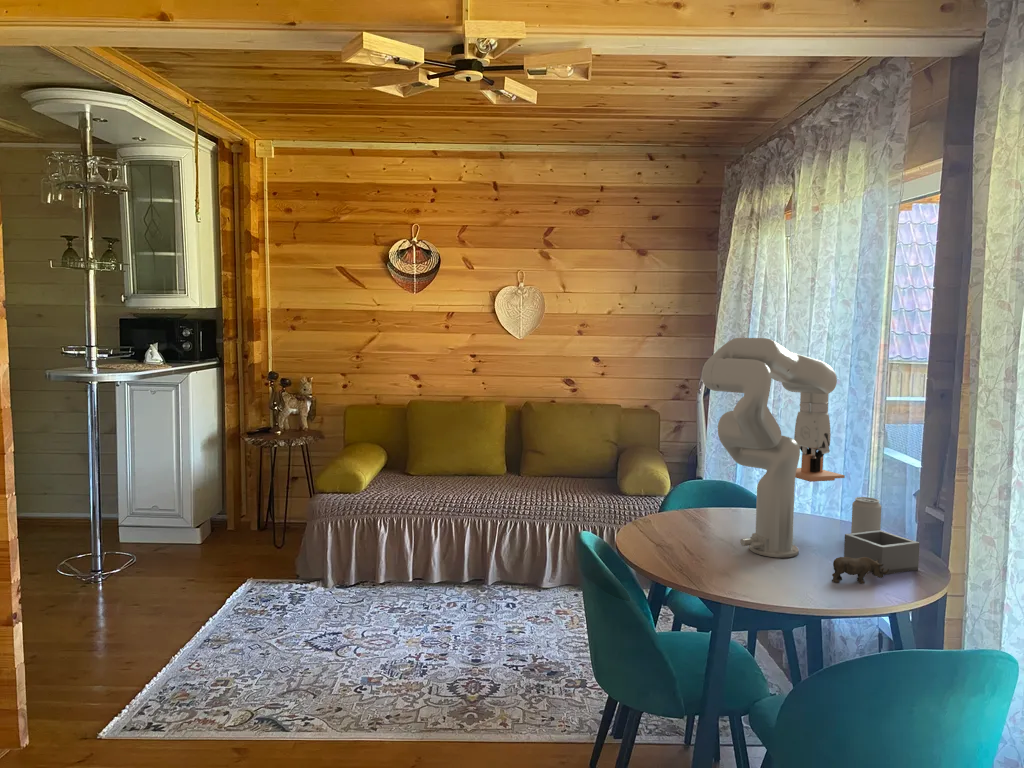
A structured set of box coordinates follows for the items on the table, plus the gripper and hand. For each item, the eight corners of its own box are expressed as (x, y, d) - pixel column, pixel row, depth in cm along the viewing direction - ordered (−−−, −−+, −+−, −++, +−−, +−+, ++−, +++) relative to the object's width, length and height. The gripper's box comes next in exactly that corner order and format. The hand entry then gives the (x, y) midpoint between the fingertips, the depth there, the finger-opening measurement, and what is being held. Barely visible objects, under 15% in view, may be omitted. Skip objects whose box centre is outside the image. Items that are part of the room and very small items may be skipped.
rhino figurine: (893, 585, 172) (894, 560, 171) (834, 583, 172) (835, 559, 172) (885, 579, 176) (886, 554, 175) (827, 578, 176) (828, 553, 176)
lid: (809, 483, 204) (811, 459, 204) (779, 474, 216) (780, 452, 216) (844, 481, 209) (845, 458, 208) (813, 473, 220) (814, 450, 220)
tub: (881, 575, 178) (882, 547, 178) (843, 560, 189) (844, 534, 189) (918, 570, 182) (919, 542, 182) (879, 555, 193) (880, 530, 193)
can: (877, 545, 203) (878, 503, 202) (848, 540, 207) (849, 499, 206) (882, 539, 209) (884, 498, 208) (854, 534, 213) (855, 494, 212)
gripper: (784, 405, 217) (782, 466, 218) (823, 411, 202) (821, 477, 203) (804, 404, 219) (802, 465, 221) (845, 410, 204) (842, 475, 206)
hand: (811, 470), depth 212 cm, fingers closed on lid
